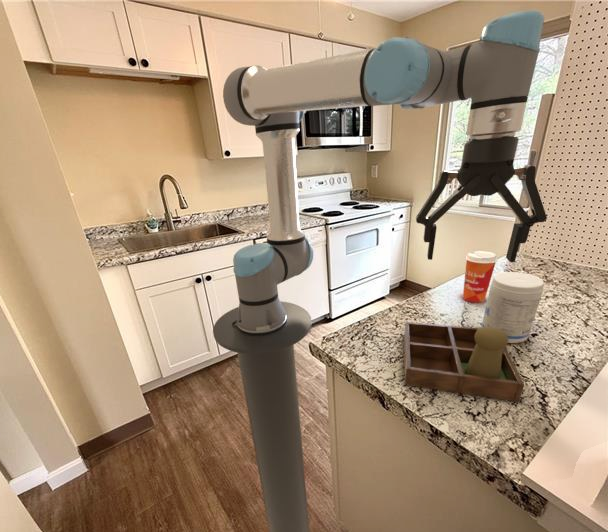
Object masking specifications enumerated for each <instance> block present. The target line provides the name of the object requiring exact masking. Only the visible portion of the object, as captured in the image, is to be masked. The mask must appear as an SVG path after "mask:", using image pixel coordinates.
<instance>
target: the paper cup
mask: <svg viewBox="0 0 608 532" xmlns="http://www.w3.org/2000/svg"><path fill="white" fill-rule="evenodd" d="M465 260H466V261H465V262H466V263H465V271H464V280H463V281H464V282H463V292H462V293H463V294H462V298H463V300H464V301H466V302H469V303H476V304H477V303H483V302H484V301H485V300H486V297H487V294H488V291H489V288H490V287H489V286H490V284H491V281H492V277H493V273H494V269H495V265H496V263H497V262H498V258H497V254H496V253H494V252H492V251H484V250H475V251H470V252H468V253H467V255H466V257H465Z"/></svg>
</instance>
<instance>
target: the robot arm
mask: <svg viewBox="0 0 608 532" xmlns="http://www.w3.org/2000/svg"><path fill="white" fill-rule="evenodd" d="M544 23H545V15H543V14H542V12H541V11H539V10H535V9H531V10H530V9H528V10H521V11H515V12H512V13H509V14H508V13H507V14H505V15H502V16H500V17H499V18H495V19H493V20H490V21H489V22H487V24H485V26H484V27H483V29H482V32H481V36H480V37H479V41H476V42H474V43H472V44H468V45H465V46H461V47H457V48H453V49H449V50H444V51H443V50H440V49H437V48H435V47H432V46H429V45H427V44H425V43H423V42H421V41H419V40H417V39H414V38H412V37H408V36H407V37H401V36H396V37H395V36H394V37H391V38H388V39H386V40H384V41H383V42H382V43H381V44H379V45H378V47H375V48H374V47H372V48H368V49H364V50H358V51H353V52H348V53H343V54H338V55H333V56H328V57H323V58H317V59H312V60H307V61H303V62H298V63H293V64H287V65H283V66H282V65H281V66H277V67H272V68H265V67H263V66H261V65H257V64H256V65H255V64H254V65H249V66H241V67H238V68H236V69H233V71H231V72H230V74H229V75H228V76H227V78H226V79H225V82H224V84H223V89H222V99H223V104H224V107H225V109H226V111H227V113H228V115H229V116H230V117H231V118H232V119H233V120H234V121H235V122H237V123H239V124H241V125H244V126H253V127H254V129H255V130H254V131H255V136H256V137H257V138H258V139H259V140H260V141H261V142H262V152H263V153H262V154H263V162H264V174H265V184H266V193H267V203H268V212H269V214H268V215H269V223H270V225H269V226H270V231H269V233H267V235H266V242H259V243H257V242H256V243H254V244H249V245H246V246H243V247H242V248H240V249H238V250H237V251H236V252H235V253H234V254H233V258H232V263H233V273H234V278H235V282H236V289H237V290H236V291H237V295H238V296H237V297H238V301H239V304H238V307H239V309H238V314H237V320H236V321H234V322H233V323H232V325H234V324H236V323H237V327H238V329H239V330H240V331H241V332H243V333H245V334H249V335H266V334H270V333H273V332H276V331H278V330H280V329H281V328H283V327H284V326H285V324H286V322H287V318H286V313H285V311H284V308H283V306H282V304H281V302H280V301H281V300H280V298H279V291H278V290H279V289H278V285H280V284H281V283H284V282H286V281H288V280H290V279H292V278H294V277H297V276H299V275H301V274H302V273H304V272H306V271H307V270H308V269H309V268H310V267H311V265H312V263H313V260H314V248H313V245H312V244H311V243H310V240H309V239H308V238H307V237H306V233H305V232H304V231H303V230H302V229H301V228H300V213H299V195H298V194H299V193H298V178H297V177H298V176H297V165H296V164H297V161H296V145H295V143H296V142H295V138H296V137H297V135H298V134H299V132H300V130H301V127H300V122H301V121H302V120H303V119H304V117H305V114H306V113H307V112H309V111H321V110H331V109H332V110H334V109H345V108H346V109H347V108H359V107H369V106H370V107H371V106H372V107H376V106H377V107H378V106H389V105H400V107H401V108H402V109H404V110H413V109H414V110H415V109H420V110H422V109H424V108H426V107H432V106H433V107H434V106H437V105H444V104H449V103H455V102H461V101H468V100H470V108H469V114H468V120H467V127H466V133H465V136H466V137H469V138H468V140H466V141H465V142H464V145H463V151H462V158H461V162H460V163H461V164H460V167H459V169H458V171H449V170H446V169H442V170H441V171H440V173H439V176H438V181H437V184H436V185H435V187H434V189H433V190H432V191H431V193H430V195H429V196H428V197H427V199H426V201H425V202H424V204H423V205H422V207H421V209H420V210H419V211H418V213H417V214H416V217H415V222H416V223H417V224H421V225H423V226H424V232H423V242H424V243H428V247H427V254H426V255H427V260H428V261H429V260H430V261H432V260H433V257H434V251H435V250H434V249H435V243H436V242H435V241H436V235H437V224H436V222H438V221H439V219H441V218H442V217H443V216H444V215H445V214H446V213H448V211H449V210H450V209H452V207H454V206H455V204H457V203H458V202H459V201H460V200H461V199H463V198H464V197H465V196H466V195H468V196H470V197H478V196H487V197H488V196H493V195H495V194H498V195H499V197H500V198H501V199H502V200H503V202H504V203H505V205H507V207H508V208H509V209H510V210H511V212H512V214H514V216H515V217H516V218H517V219H518V220H519V222H517V223H513V226H512V231H511V235H510V239H509V243H508V247H507V248H508V249H507V250H506V256H505V259H507V260H508V261H509V263H515V262H516V259H517V255H518V252H519V247H520V244H526V242H527V241H528V237H529V234H530V231H531V227H533V226H534V225H535V224H538V223H545V222H546V221H547V220H548V216H547V213H546V210H545V207H544V203H543V202H542V198H541V195H540V192H539V189H538V185H537V183H536V180H535V179H536V171H537V168H536V166H535V165H531V164H525V165H523V166H520V167H515V166H514V162H515V157H516V154H517V149H518V144H519V140H520V137H519V136H518V135H516V134H517V133H519V132H520V131H522V126H523V121H524V117H525V112H526V107H527V103H528V99H529V95H530V90H531V85H532V82H533V78H534V74H535V69H536V65H537V61H538V57H539V53H540V51H541V48H540V46H541V45H540V43H541V39H542V34H543V29H544V28H543V27H544ZM514 176H516V179H517V180H518V181H521V186H522V188H523V190H524V194H525V197H526V199H527V204H528V206H529V209H530V212H531V215H530V214H528V212H526V210H525V209H524V208H523V207H522V205H521V204H520V203H519V200H517V199H516V197H515V196H514V195H513V193H512V191H511V190H510V189H509V188H508V186H507V185H506V184H507V183H508V182H510V180H512V178H514ZM455 179H456V181H457V182H458V183H459V186H458V187H457V188H456V189H455V190H454V191H453V192H452V194H451V195H449V196H448V197H447V199H446V200H444V201H443V202H442V203H441V204H439V206H438V207H436V209H435V210H434V211H433V212H432V213H431V214H430V215H429V216H428V214H429V213H430V211H431V210H432V209H433V207H434V205H435V203H436V202H437V201H438V199H439V198H440V195H441V194H442V193H443V191H444V190H445V189H446V186H447V185H450V184H451V183H452V182H453V180H455ZM427 216H428V217H427Z"/></svg>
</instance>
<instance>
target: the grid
mask: <svg viewBox="0 0 608 532" xmlns="http://www.w3.org/2000/svg"><path fill="white" fill-rule="evenodd" d="M404 323H405V324H404V334H403V340H404V341H403V344H404V345H403V346H404V350H403V354H404V357H403V358H404V386H408V387H409V386H411V387H416V388H424V389H431V390H436V391H443V392H450V393H457V394H464V395H471V396H477V397H483V398H484V397H485V398H491V399H495V400H497V399H498V400H504V401H510V402H516V403H520V400H521V397H522V393H523V390H524V387H525V383H524V381H523V379H522V377H521V375H520V374H519V370H518V369H517V367H516V365H515V364H514V363H515V362H514V361H513V359H512V357H511V355H510V353H509V350H508V349H507V347H506V346H505V348H503V349H502V360H501V375H500V379H497V378H489V377H482V376H474V375H466V374H465V370H466V368H467V365H468V363H469V360H470V358H471V355H472V353H473V350H474V348H475V346H476V342H475V333H476V331H477V330H478V329H479V328H480V327H471V326H459V325H458V326H457V325H450V324H449V325H446V324H436V323H424V322H423V323H422V322H410V321H405V322H404Z"/></svg>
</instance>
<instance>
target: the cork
mask: <svg viewBox="0 0 608 532" xmlns="http://www.w3.org/2000/svg"><path fill="white" fill-rule="evenodd" d="M478 328H479V329H478V330H477V331H476V333H475V342H476V346H475V348H474V350H473V353H472V355H471V358H470V360H469V363H468V365H467V368H466V370H465V374H466V375H474V376H482V377H489V378H497V379H500V375H501V360H502V349H503V348H505V347H506V346H507V345H508V344H509V343H508V336H507V334H506V333H505V332H504V331H503V330H501V329H499V328H496V327H490V326H485V327H478Z"/></svg>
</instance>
